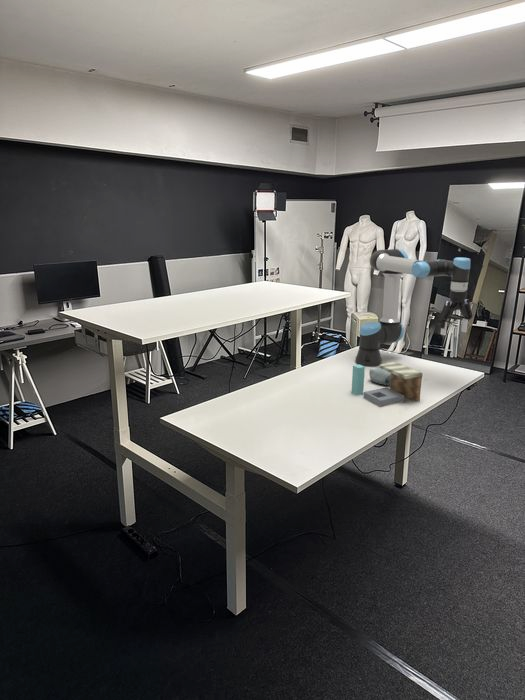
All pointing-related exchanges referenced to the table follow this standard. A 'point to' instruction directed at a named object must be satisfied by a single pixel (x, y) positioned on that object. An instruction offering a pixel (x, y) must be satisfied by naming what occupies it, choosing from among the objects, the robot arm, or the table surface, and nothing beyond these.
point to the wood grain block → (404, 380)
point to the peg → (358, 379)
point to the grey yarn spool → (380, 376)
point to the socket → (383, 396)
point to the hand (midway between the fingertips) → (453, 333)
